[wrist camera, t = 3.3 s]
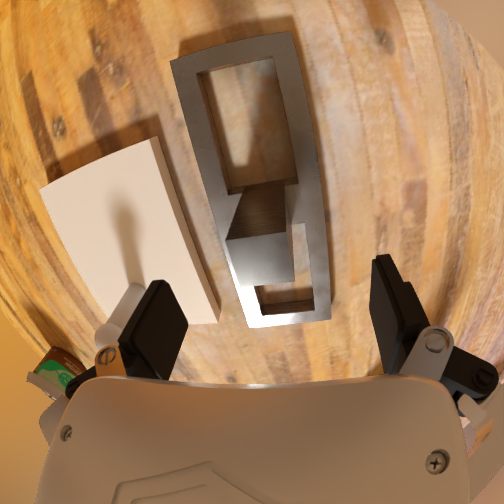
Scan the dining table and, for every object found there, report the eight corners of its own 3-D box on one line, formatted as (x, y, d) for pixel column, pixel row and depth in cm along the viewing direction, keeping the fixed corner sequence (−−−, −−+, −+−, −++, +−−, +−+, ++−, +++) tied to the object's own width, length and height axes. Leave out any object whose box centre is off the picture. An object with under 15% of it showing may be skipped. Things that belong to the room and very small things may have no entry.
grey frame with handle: (177, 63, 15) (117, 51, 8) (290, 36, 13) (297, -3, 7) (251, 316, 27) (241, 383, 21) (329, 308, 26) (339, 376, 19)
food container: (102, 375, 41) (83, 417, 33) (92, 379, 44) (75, 417, 36) (51, 334, 37) (26, 375, 29) (46, 342, 40) (24, 379, 31)
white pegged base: (48, 184, 21) (-17, 229, 13) (157, 135, 18) (80, 173, 10) (117, 316, 30) (85, 375, 22) (220, 312, 27) (201, 391, 20)
